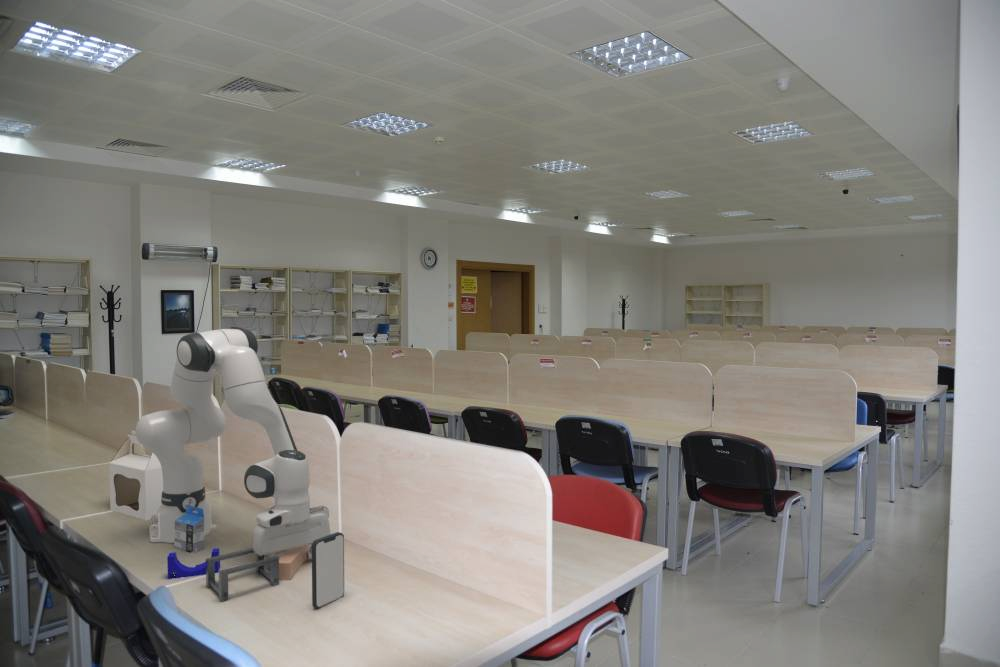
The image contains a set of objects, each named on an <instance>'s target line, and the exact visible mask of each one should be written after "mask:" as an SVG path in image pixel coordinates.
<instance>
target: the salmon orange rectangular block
mask: <svg viewBox="0 0 1000 667" xmlns="http://www.w3.org/2000/svg"><path fill="white" fill-rule="evenodd" d="M310 547H311V545H310V544H306V545H302V546H298V547H294V548H290V549H286V550H285V552H284V553H283V554H282V555H281V556H280V557H278V558H279V581H291V580H292V579H293V578H294V576H295V575H296V574H297V572H298V571H299V569H300V568H301V567H302V565H303V564H304V563H305V562H306V560H308V559H307V558H306V552H307V551H309V549H310Z"/></svg>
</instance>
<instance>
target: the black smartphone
mask: <svg viewBox="0 0 1000 667" xmlns="http://www.w3.org/2000/svg"><path fill="white" fill-rule="evenodd" d="M311 586H312V587H311V591H312V592H311V602H312V603H311V604H312V607H313V608H315V609H321V608H323V607H326V606H327V605H329V604H332V603H333V602H335V601H337V600H339V599H342V598H343V597H344V596H345V537H344V534H343V533H342V532H340V531H338V532H334V533H330V535H328V536H325V537H322V538H319V539H316V540H315V541H314V542H313V543H312V559H311Z"/></svg>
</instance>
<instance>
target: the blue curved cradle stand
mask: <svg viewBox="0 0 1000 667" xmlns="http://www.w3.org/2000/svg"><path fill="white" fill-rule="evenodd" d="M215 556H220V547H216V548H213V549H212V551H211V556H210V558H211V557H215ZM166 561H167V565H166V566H167V580H174V578H175V579H182V578H181V577H184V578H190V577H196V576H206V561H204V562H202V563H200V564H195V566H193V567H191V566H187V565H184V564H183V563H182V562H180V560H179V559H178V556H177V552H175V551H174V552H169V553H168V555H167V560H166ZM220 568H221V561H217V562H215V574H219V571H220ZM174 575H175V576H174ZM172 578H173V579H172Z"/></svg>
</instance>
